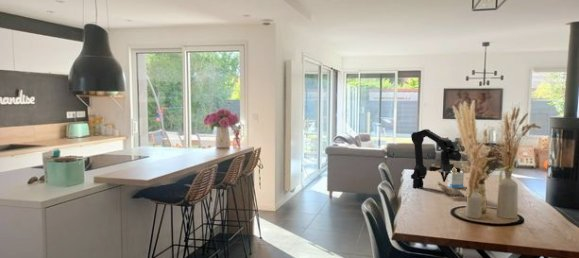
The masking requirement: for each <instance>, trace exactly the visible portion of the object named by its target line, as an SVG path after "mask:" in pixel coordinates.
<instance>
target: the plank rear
mask: <svg viewBox="0 0 579 258" xmlns="http://www.w3.org/2000/svg"><path fill="white" fill-rule="evenodd" d="M436 184H437V185H438V186H440V185H442V186H443V187H445V188H447V189H448V190H450V188H451V187H449V186H446V185H445V184H443V183H442V182H440V181H437V183H436ZM450 191H451V190H450Z"/></svg>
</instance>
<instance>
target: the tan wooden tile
mask: <svg viewBox="0 0 579 258" xmlns="http://www.w3.org/2000/svg"><path fill="white" fill-rule="evenodd" d="M449 188H450V190H451V191H452V192H453V194H454V195H453V197H461V198H462V197H464V194H463V192H462V191H461V190H460V188H451V187H449Z"/></svg>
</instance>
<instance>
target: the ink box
mask: <svg viewBox="0 0 579 258" xmlns="http://www.w3.org/2000/svg"><path fill="white" fill-rule="evenodd" d="M450 172H451V173H449V174H448V176H447V187H448V188H455V189H464V176H465V175H464V171H462V170H460V173H457V174H453V172H452V171H450Z"/></svg>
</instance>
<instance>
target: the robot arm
mask: <svg viewBox="0 0 579 258" xmlns="http://www.w3.org/2000/svg"><path fill="white" fill-rule="evenodd" d="M410 135H411V136H410V138H411V142H412V143H413V145H414V154H415V155H414V157H415V166H414V168H413V172H412V173H411V175H410V179H411V180H412V188H413V189H423V188H424V180H425V178H426V176H427V173H428V170H429V171H430V172H437V171H438V173H440V176H441V179H442V182H443V183H445V182H446V180H447V179H448V174H449V173H451V172H450V171H452V168H453V167H455V168H456V169H457V172H458V173H460V171H461V168H460V167H458V166H454V164H453V163H451V162H450V160H451V161H456V162H459V161H461V159H462V153H461V152H460V150H458V149H456V148H455V146H454V144H453V141H452V140H451V139H448V138H445V137H441V136H440V135H438V134H436V133H435V132H433V131H432V130H430V129H429V128H428V129H427V128H426V129H422V130H419V131H415V132H412V133H411V134H410ZM425 138H428V139H430V140H432V141H434V142H435V143H436V144H437V146H438V147H440V148H439V149H438V150H437V151H438V152H440V161H439V164H440V165H439V166H438V167H437V166H436V165H430V166H429V169H428V167H427V166H425V165H424V158H423V157H424V156H423V142H424V140H425ZM450 163H451V164H450Z"/></svg>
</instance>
